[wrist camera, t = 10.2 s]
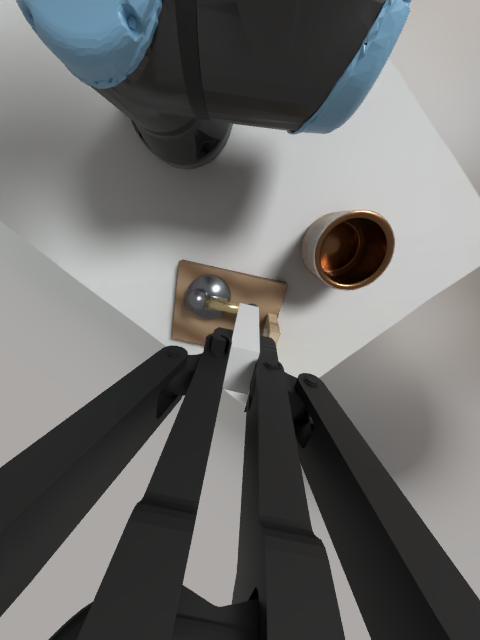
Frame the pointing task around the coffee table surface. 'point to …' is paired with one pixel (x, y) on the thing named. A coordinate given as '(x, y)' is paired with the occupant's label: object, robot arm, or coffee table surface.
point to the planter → (348, 248)
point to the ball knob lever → (210, 297)
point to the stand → (242, 291)
